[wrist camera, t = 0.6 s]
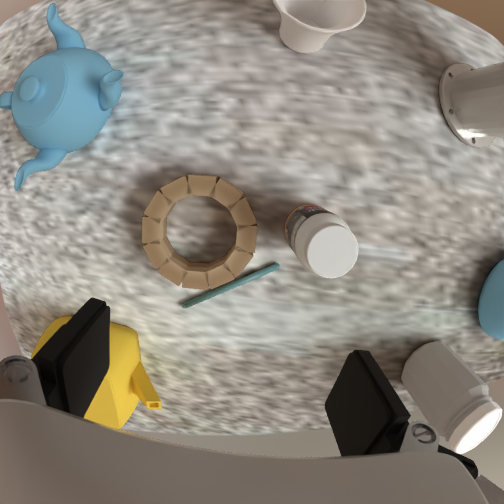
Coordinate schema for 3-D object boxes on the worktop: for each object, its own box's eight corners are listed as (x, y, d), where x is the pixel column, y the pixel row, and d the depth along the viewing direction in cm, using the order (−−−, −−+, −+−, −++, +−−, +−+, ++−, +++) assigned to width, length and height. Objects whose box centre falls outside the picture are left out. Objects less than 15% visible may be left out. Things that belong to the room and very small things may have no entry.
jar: (452, 353, 42) (510, 415, 24) (413, 392, 43) (460, 462, 26) (432, 326, 39) (501, 395, 22) (388, 371, 41) (440, 452, 24)
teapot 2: (172, 327, 37) (151, 386, 26) (174, 395, 40) (161, 455, 29) (44, 305, 35) (-1, 345, 24) (59, 371, 39) (27, 417, 27)
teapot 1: (18, 108, 28) (-31, 101, 18) (95, 26, 26) (58, -6, 16) (66, 183, 31) (15, 193, 21) (154, 97, 29) (122, 72, 19)
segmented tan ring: (227, 156, 32) (226, 155, 29) (271, 254, 35) (274, 261, 32) (132, 204, 32) (123, 208, 30) (179, 294, 36) (175, 304, 33)
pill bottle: (338, 212, 34) (374, 230, 24) (321, 258, 35) (350, 291, 26) (292, 197, 33) (314, 209, 24) (276, 244, 35) (291, 275, 25)
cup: (352, 38, 28) (387, 4, 18) (302, 79, 29) (326, 48, 20) (298, -8, 26) (317, -52, 16) (245, 30, 27) (248, -14, 18)
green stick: (277, 261, 35) (278, 263, 34) (280, 266, 35) (281, 268, 35) (181, 302, 36) (180, 305, 35) (184, 307, 36) (183, 310, 35)
